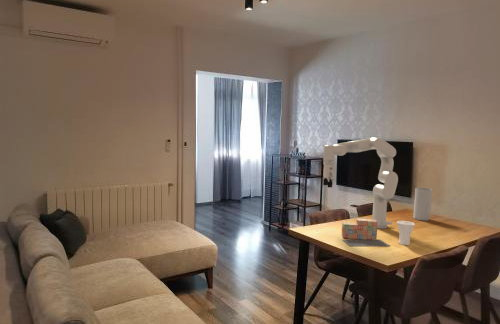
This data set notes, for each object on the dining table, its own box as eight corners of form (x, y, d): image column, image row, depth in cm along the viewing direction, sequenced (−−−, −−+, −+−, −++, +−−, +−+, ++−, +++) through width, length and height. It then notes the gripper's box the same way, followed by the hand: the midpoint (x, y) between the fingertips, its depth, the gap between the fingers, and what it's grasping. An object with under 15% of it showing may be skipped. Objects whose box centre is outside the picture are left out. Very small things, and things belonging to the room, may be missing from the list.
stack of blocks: (342, 238, 239) (343, 219, 238) (341, 235, 246) (342, 217, 245) (376, 240, 237) (377, 221, 236) (374, 237, 243) (375, 219, 243)
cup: (415, 246, 227) (416, 225, 226) (397, 245, 229) (398, 224, 227) (410, 241, 237) (412, 221, 236) (393, 240, 239) (395, 220, 238)
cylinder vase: (411, 219, 300) (414, 188, 298) (414, 216, 311) (417, 187, 308) (428, 221, 293) (431, 190, 291) (431, 218, 304) (433, 189, 301)
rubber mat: (379, 239, 240) (379, 239, 240) (390, 246, 227) (390, 245, 227) (341, 239, 236) (341, 239, 236) (350, 246, 223) (350, 246, 223)
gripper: (338, 163, 252) (336, 188, 253) (329, 161, 269) (328, 184, 270) (327, 163, 251) (326, 188, 252) (319, 161, 268) (318, 184, 269)
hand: (327, 186), depth 261 cm, fingers open, 9 cm apart
